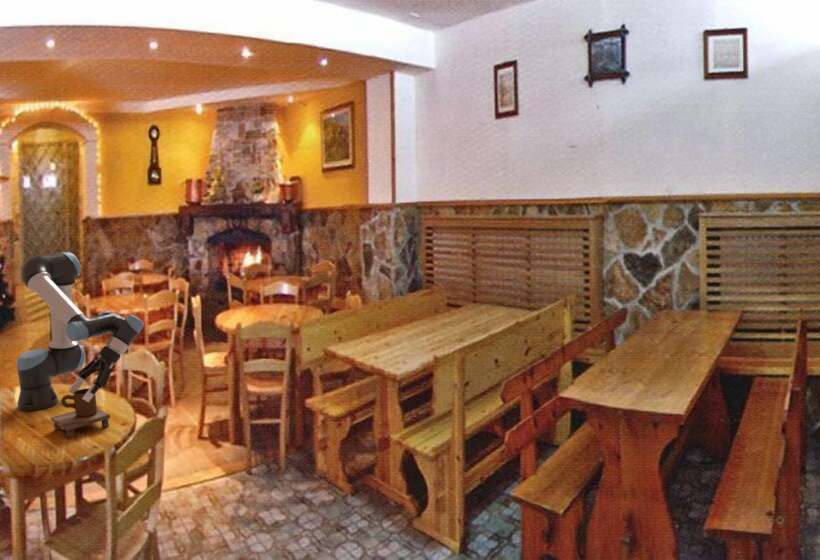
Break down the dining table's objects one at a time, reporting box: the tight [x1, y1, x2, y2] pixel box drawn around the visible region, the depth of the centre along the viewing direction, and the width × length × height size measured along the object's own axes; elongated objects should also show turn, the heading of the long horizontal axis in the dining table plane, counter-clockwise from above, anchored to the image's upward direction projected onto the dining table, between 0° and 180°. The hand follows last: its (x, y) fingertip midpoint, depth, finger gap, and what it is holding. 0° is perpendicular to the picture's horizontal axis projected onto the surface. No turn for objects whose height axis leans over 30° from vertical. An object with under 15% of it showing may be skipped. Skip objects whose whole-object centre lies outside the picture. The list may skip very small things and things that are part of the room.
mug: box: [60, 387, 98, 418], centre depth 251 cm, size 12×8×9 cm, turn 124°
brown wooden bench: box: [50, 407, 111, 440], centre depth 252 cm, size 15×16×5 cm
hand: (77, 396), depth 250 cm, fingers open, 13 cm apart
